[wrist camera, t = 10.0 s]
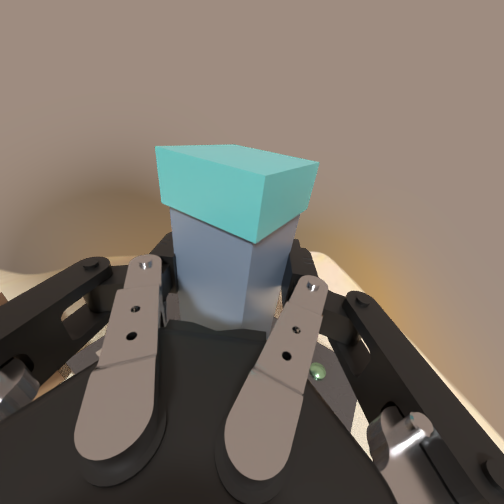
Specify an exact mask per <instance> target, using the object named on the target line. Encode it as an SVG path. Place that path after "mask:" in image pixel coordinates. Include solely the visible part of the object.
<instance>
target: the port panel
mask: <svg viewBox="0 0 504 504" xmlns="http://www.w3.org/2000/svg"><path fill="white" fill-rule="evenodd" d="M169 319H172V320H180V321H181V319H180V309H179V298H178V292H177V294H174V293H170V294H168V296H167V323H168V321H169ZM277 320H278V319H277V318H275V317H274V318H273V322H272V326H271V330H270V334H271V332H272V330H273V328H274V326H275V324H276V322H277ZM270 334H269V336H270ZM104 338H105V336H103V337H101V338H100V339H98V340H97V341H95V342H94V343H92V344H91V345H89V346H88V347H86V348H84V349H83V350H81V351H80V352H78V353H77V354H75V355H74V356H72V357H71V358H70V359H69V360H68V361H67V362H66V364H67V365H68V367H69V369H70V370H71V372H72V373H73V375H75V374H77V373H78V372H80V371H82V370H83V369H85V368H86V367H88V366H90V365H91V364H93V363H94V362H96V361H98V360H99V358H100V354H101V350H102V346H103V342H104ZM307 378H308V379H309V381H310V382H311V383H312V385H313V386H314V387H315V388H316V390H317V391H318V392H319V394H320V395H321V396H322V397H323V399H324V400H325V401H326V403H327V404H328V405H329V406H330V408H331V409H332V410H333V411H334V413H335V414H336V415H337V417H338V418H339V419H340V420H341V422H342V423H343V424H344V426H345V427H346V428H347V429H348V431H349V432H351V427H352V422H353V417H354V412H355V407H356V402H357V398H356V396H355V394H354V392H353V390H352V388H351V385H350V383H349V381H348V379H347V377H346V375H345V373H344V371H343V369H342V367H341V365H340V363H339V361H338V359H337V357H336V355H335V352H333V351H331V350H330V349H328V348H326V347H325V346H323V345H321V344H319V343H318V342H316V346H315V350H314V354H313V357H312V361H311V365H310V369H309V373H308V377H307Z"/></svg>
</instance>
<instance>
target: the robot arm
mask: <svg viewBox="0 0 504 504" xmlns="http://www.w3.org/2000/svg"><path fill="white" fill-rule="evenodd" d="M178 290H179V288H178V277H177V267H176V256H175V253H174V247H173V237H172V232H170V233H168V234H166V235H165V237H164V238H163V239H162V240H161V241H160V242H159V244H157V246H156V247H155V248H154V249H153V250H152V251H151V252H150V253H149V254H146V255H140V256H137V257H135V258H133V259H132V260H131V261H130V262H129V265H122V266H111V264H110V261H109V260H108V259H107V258H105V257H91V258H86V259H84V260H81V261H79V262H77V263H75V264H74V265H72V266H70V267H68V268H66V269H65V270H63V271H61V272H59V273H58V274H56V275H54V276H52V277H51V278H49V279H47V280H45V281H44V282H42V283H40V284H38V285H37V286H35V287H33V288H31V289H29V290H28V291H26V292H24V293H22V294H21V295H19V296H17V297H15V298H14V299H12V300H10V301H8V302H7V303H5V304H3V305H1V306H0V504H504V454H503V453H502V451H501V450H500V449H499V448H498V447H497V445H496V444H495V443H494V442H493V441H492V439H491V438H490V437H489V436H488V435H487V433H486V432H485V431H484V430H483V429H482V427H481V426H480V425H479V424H478V423H477V421H476V420H475V419H474V418H473V417H472V415H471V414H470V413H469V412H468V411H467V410H466V408H465V407H464V406H463V405H462V404H461V402H460V401H459V400H458V399H457V398H456V396H455V395H454V394H453V393H452V392H451V390H450V389H449V388H448V387H447V386H446V384H445V383H444V382H443V381H442V380H441V378H440V377H439V376H438V375H437V374H436V372H435V371H434V370H433V369H432V368H431V366H430V365H429V364H428V363H427V362H426V361H425V359H424V358H423V357H422V356H421V355H420V353H419V352H418V351H417V350H416V349H415V347H414V346H413V345H412V344H411V343H410V341H409V340H408V339H407V338H406V337H405V335H404V334H403V333H402V332H401V331H400V329H399V328H398V327H397V326H396V325H395V323H394V322H393V321H392V320H391V319H390V318H389V316H388V315H387V314H386V313H385V312H384V311H383V309H382V308H381V307H380V306H379V304H378V303H377V302H376V301H375V300H374V299H373V298H372V297H370V296H369V295H367V294H365V293H363V292H359V291H350V292H348V293H347V295H346V297H345V296H342V295H339V294H336V293H333V292H331V291H329V290H328V286H327V284H326V283H325V282H324V281H323V280H322V279H320V278H319V277H318V274H317V271H316V268H315V265H314V262H313V260H312V256H311V253H310V252H309V251H308V250H307V249H306V248H300V244H299V240H298V239H294V240H293V244H292V247H291V251H290V253H289V256H288V260H287V264H286V268H285V272H284V276H283V280H282V284H281V292H282V304H283V310H282V312H281V314H280V316H279V318H278V320H277V322H276V324H275V326H274V328H273V330H272V332H271V334H270V336H269V338H268V340H266V332H265V331H258V330H250V329H233V330H222V331H216V330H213V329H210V328H207V327H205V326H202V325H199V324H197V323H194V322H188V321H180V320H172V319H169V321H168V323H167V296H168V294H169V293H174V294H177V292H178ZM82 297H84V299H85V301H86V304H84V305H83V306H82V307H81V308H79V309H78V310H77V311H75V312H74V313H73V314H71V315H70V316H69V317H68V318H66V319H65V320H64V321H61V316H62V314H63V312H64V311H65V310H66V309H67V308H68V307H69V306H71V305H72V304H73V303H75V302H76V301H78V300H79V299H80V298H82ZM108 322H109V323H108ZM107 323H108V327H107V331H106V334H105V338H104V342H103V346H102V350H101V354H100V358H99V360H98V361H96V362H94V363H93V364H91V365H90V366H88V367H86V368H85V369H83V370H82V371H80V372H78V373H77V374H75V375H74V376H72V377H70V378H69V379H67V380H65V381H64V382H62V383H61V384H59V385H57V386H56V387H54V388H53V389H51V390H49V391H48V392H46V393H45V394H43V395H41V396H40V397H38V398H36V399H35V400H33V399H34V398H35V397H36V395H37V393H38V390H39V387H41V386H42V385H43V384H44V383H45V382H46V381H47V380H48V379H49V378H50V377H51V376H52V375H53V374H54V373H55V372H56V371H58V370H59V369H60V368H61V367H62V366H63V365H64V364H65V363H66V362H67V361H68V360H69V359H70V358H71V357H72V356H73V355H74V354H76V353H77V352H78V351H79V350H80V349H81V348H82V347H83V346H84V345H85V344H86V343H87V342H88V341H89V340H90V339H91V338H93V337H94V336H95V335H96V334H97V333H98V332H99V331H100V330H101V329H102V328H103V327H104V326H105V325H106V324H107ZM318 334H322V335H324V336H327V337H328V340H329V342H330V344H331V346H332V348H333V350H334V352H335V355H336V357H337V359H338V361H339V363H340V365H341V367H342V369H343V371H344V373H345V375H346V377H347V379H348V381H349V383H350V385H351V388H352V390H353V392H354V394H355V396H356V398H357V400H358V402H359V404H360V406H361V408H362V410H363V412H364V414H365V416H366V419H367V421H368V423H369V426H368V428H367V441H368V444H369V447H370V455H371V457H372V459H373V462H372V460H371V459H370V458H369V456H368V455H367V454H366V453H365V451H364V450H363V449H362V447H361V446H360V445H359V444H358V442H357V441H356V440H355V438H354V437H353V436H352V435H351V433H350V432H349V431H348V429H347V428H346V427H345V426H344V424H343V423H342V422H341V420H340V419H339V418H338V417H337V415H336V414H335V413H334V411H333V410H332V409H331V408H330V406H329V405H328V404H327V403H326V401H325V400H324V399H323V397H322V396H321V395H320V394H319V392H318V391H317V390H316V388H315V387H314V386H313V385H312V383H311V382H310V381H309V379H308V378H307V377H308V373H309V369H310V365H311V361H312V357H313V354H314V350H315V346H316V342H317V338H318ZM361 338H362V339H363V340H364V342H365V343H366V345H367V347H368V348H369V350H370V353H369V351H368V350H367V348H366V346H365V345H364V343H363V342H362V340H361Z"/></svg>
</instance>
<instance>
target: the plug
mask: <svg viewBox="0 0 504 504" xmlns="http://www.w3.org/2000/svg"><path fill="white" fill-rule="evenodd" d="M155 150H156V160H157V167H158V177H159V185H160V193H161V202H162V203H163V204H165V205H167V206H170V215H171V226H172V237H173V247H174V253H175V256H176V267H177V277H178V288H179V290H178V298H179V309H180V319H181V321H188V322H194V323H197V324H199V325H202V326H205V327H207V328H210V329H213V330H216V331H222V330H233V329H250V330H258V331H265V332H266V340H268V338H269V334H270V330H271V326H272V322H273V318H274V314H275V310H276V306H277V302H278V298H279V295H280V291H281V284H282V280H283V276H284V272H285V268H286V264H287V260H288V256H289V253H290V251H291V247H292V244H293V240H294V236H295V231H296V228H297V224H298V219H299V216H300V213H302V212H303V211H304V210H306V209H307V207H308V203H309V200H310V196H311V192H312V189H313V185H314V181H315V178H316V174H317V170H318V166H319V162H315V161H311V160H306V159H301V158H296V157H291V156H287V155H281V154H277V153H272V152H268V151H263V150H258V149H253V148H248V147H244V146H239V145H234V144H233V145H193V146H191V145H190V146H155Z"/></svg>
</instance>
